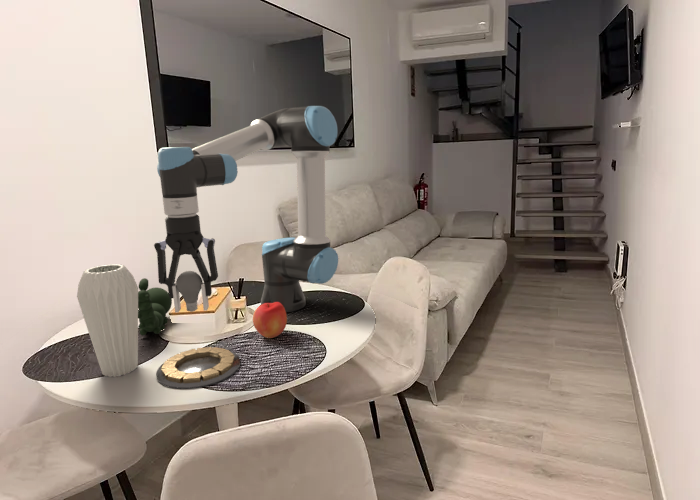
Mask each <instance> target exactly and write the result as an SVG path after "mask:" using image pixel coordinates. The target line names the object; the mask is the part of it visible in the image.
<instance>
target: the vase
mask: <svg viewBox="0 0 700 500" xmlns="http://www.w3.org/2000/svg"><path fill="white" fill-rule="evenodd" d="M82 272H83V273H82V275H81V277H80V279H79V282H78V286H77V294H76V298H77V300H78V304H79V307H80V310H81V314H82V317H83V319H84V323H85V325H86V329H87V332H88V334H89V338H90V340H91V343H92V346H93V349H94V352H95V355H96V356H95V357H96V358H97V362H98V365H99V367H100V371H101V373H102V376H104V377H108V378H111V377H113V378H116V377H121V376H122V375H124V376H125V375H127V374H131V372H133V371H135V370H136V369H137V368H138V363H139V362H138V361H139V360H138V359H139V357H138V356H139V355H138V353H139V327H138V326H139V318H138V310H139V309H138V292H139V285H138V284H137V281H136V280H135V277H134V275H133V274H132V272H131V271H130V270H129V269H128V268H127V267H126V266H125V265H124V264H117V263H115V264H104V265H98V266H93V267H89V268H88V269H87V268H86V269H85V270H84V271H82Z"/></svg>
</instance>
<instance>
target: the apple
mask: <svg viewBox="0 0 700 500" xmlns="http://www.w3.org/2000/svg"><path fill="white" fill-rule="evenodd" d="M252 324H253V327H254V329H255V330H256V331H257V333H258V334H260V335H261V336H262V337H263V338H266V339H273V338H276V337H278V336H279V335H281V334H282V333H283V332H284V330H285V329H286V326H287V324H288V316H287V312H286V311H285V308H284V307H283V305H282V304H281V303H280V302H274V303H264V304H262V305H261V304H260V305H259V306H258V307H257V308H256V309H255V311H253V315H252Z"/></svg>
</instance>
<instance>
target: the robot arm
mask: <svg viewBox="0 0 700 500" xmlns="http://www.w3.org/2000/svg"><path fill="white" fill-rule="evenodd" d="M337 138H338V124H337V121H336V118H335V116H334V115H333V113H332V111H330V109H328V108H327V107H325V106H323V105H306V106H298V107H297V106H296V107H285V108H281V109H279V110H276V111H274V112H271V113H268V114H266V115H264V116H262V117H260V118H256V119H255V120H253V121H252V122H251V123H250V125H249V126H246V127H244V128H241V129H238V130H236V131H233V132H231V133H228V134H225V135H224V136H221V137H218V138H216V139H214V140H211V141H208V142H206V143H204V144H201V145H198V146H196V147H194V148H191V147H190V146H179V147H178V146H176V147H175V146H174V147H161V148H159V150H158V153H157V155H158V157H157V159H158V160H157V161H158V163H157V166H156V170H157V174H158V176H159V179H160V188H161V193H162V205H163V213H164V215H165V218H164V222H165V229H166V237H165V239H163V240H159V241H156V242H155V243H154V244H153V246H154V249H155V251H156V255H157V257H156V258H157V278H158V283H159V284H160V285H166V286H167V292H168V293H169V297H170V299H171V298H172V299H173V304H174V305H173V306H174V313H179V312H180V311H181V309H182V305H181V298H180V297H181V296H180V292H179V291H178V289H177V287H176V276H177V272H178V267H179V263H180V258H181V256H185V255H190V256H191V258H192V259H193V261H194V263H195V265H196V268H197V269H198V272H199V275H200V277H201V278H202V284H201V296H202V297H201V298H202V305H203V307H202V308H203V311H204V312H205V311H208V309H209V308H210V306H209V305H210V304H209V303H210V302H209V297H211V296H212V293H213V291H212V282H214V281H216V280H217V279H218V277H219V273H218V267H217V260H216V254H215V244H216V240H215V238H213V237H212V238H206V237H205V236H203V234H202V231H201V222H200V216H199V214H197V213H199V212H200V211H199V201H198V192H197V191H198V189H197V188H200V187H211V186H212V187H214V186H224V185H229V184H232V183H233V182H235V180H236V178H237V176H238V165H237V162H236V161H238V160H241V159H244V158H245V157H247V156H249V155H252V154H254V153H256V152H259V151H260V150H262V151H269V150H272V149H274V148H281V147H283V148H284V147H290V148H291V153H292V155H293V156H295V158H296V183H297V184H296V185H297V186H296V187H297V188H296V191H297V196H296V197H297V229H298V230H297V231H298V232H297V237H284V238H283V237H282V238H277V239H272V240H268V241H266V242H264V243H263V244H262V246H261V251H262V252H261V259H262V268H263V269H262V270H263V271H262V272H263V278H264V279H263V280H264V287H263V291H262V295H261V298H260V305H262V304H264V303H274V302H280V303H281V304H282V305H283V307H284V308H285V311H286V313H292V312H296V311H298V310H300V309H303V308H304V307H305V306H306V297H305V296H306V295H305V294H304V291H303V289H302V286H301V283H300V282H307V283H310V284H319V285H320V284H322V285H323V284H326V283H328V282H330V280H331V279H333V277H334V276H335V274H336V271H337V268H338V265H339V254H338V252H337V251H336V250H335V249H334V248H333V247H331V239H330V238H329V237H328V236H327V235H326V234H327V233H326V165H325V163H326V162H325V159H326V157H327V156H328V155H329V153H330V146H332V145H333V144H335V142H336V140H337ZM202 243H203V245H204V247H205V248H206V253H207V254H206V255H207V261H208V267H209V270H208V269H207V266H206V263H205V262H204V260H203V257H202V255H201V252H200V249H199V248H200V247H201V245H202ZM167 246H168V247H169V248H170V249H171V250H172V256H171V264H170V266H169V271H168V277H167V260H166V249H167ZM209 273H210V274H209Z"/></svg>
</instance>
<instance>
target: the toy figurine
mask: <svg viewBox="0 0 700 500" xmlns="http://www.w3.org/2000/svg"><path fill="white" fill-rule="evenodd" d="M172 305H173V298H171V299H170V297H169V292H168V290H165V289H164V288H161V287H151V288H149V280H148V278H144V277H143V278H142V279H141V280H140V281H139V282H138V330H139V329H140V330H139V331H138V334H140V336H146V335H147V333H152V332H153V333H154V334H155V335H158V334H160V333H161V332H162V331H161V330H163V329H165V330H166V326H165V325H167V324H168V323H169V319H168V317H167V314H168V313H169V311H170V310H171V308H172Z"/></svg>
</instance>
